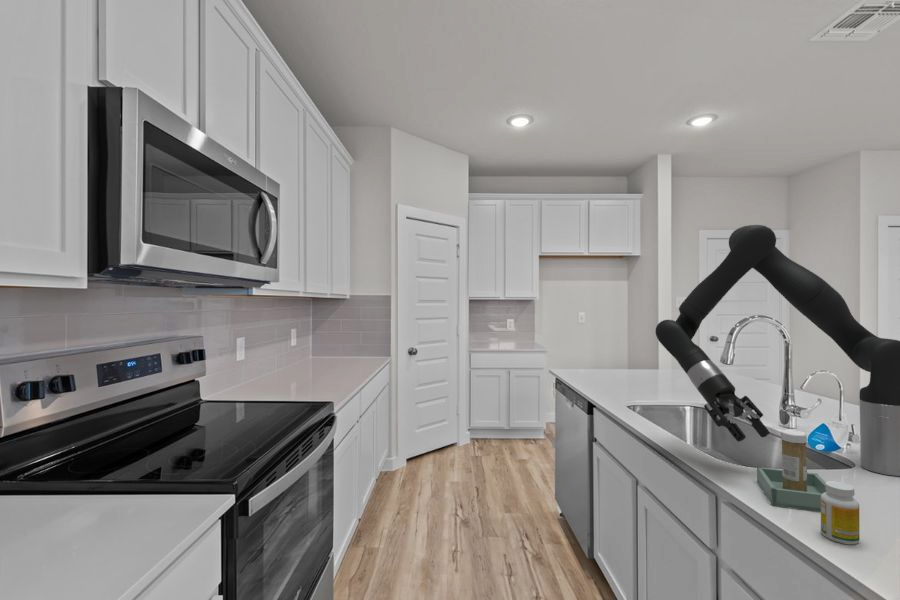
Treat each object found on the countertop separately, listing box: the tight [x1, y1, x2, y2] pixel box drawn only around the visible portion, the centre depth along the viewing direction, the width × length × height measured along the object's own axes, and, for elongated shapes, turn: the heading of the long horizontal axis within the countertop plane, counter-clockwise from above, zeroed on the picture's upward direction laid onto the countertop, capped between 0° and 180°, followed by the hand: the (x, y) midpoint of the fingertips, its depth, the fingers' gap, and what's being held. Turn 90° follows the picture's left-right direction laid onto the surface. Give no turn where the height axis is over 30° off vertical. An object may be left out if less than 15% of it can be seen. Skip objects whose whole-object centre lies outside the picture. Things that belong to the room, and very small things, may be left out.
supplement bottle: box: [820, 480, 861, 546], centre depth 82 cm, size 5×5×10 cm
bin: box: [756, 466, 827, 513], centre depth 100 cm, size 14×12×4 cm
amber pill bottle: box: [780, 429, 808, 492], centre depth 100 cm, size 5×5×13 cm
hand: (754, 437), depth 108 cm, fingers open, 8 cm apart
